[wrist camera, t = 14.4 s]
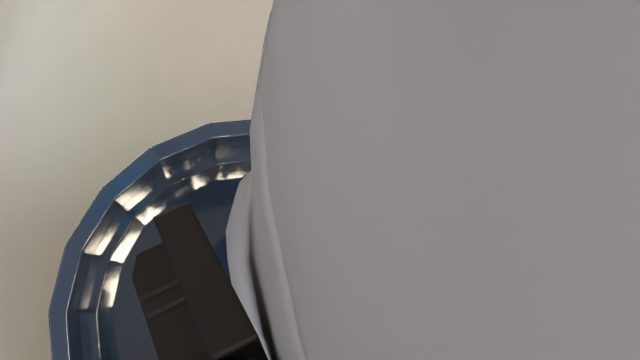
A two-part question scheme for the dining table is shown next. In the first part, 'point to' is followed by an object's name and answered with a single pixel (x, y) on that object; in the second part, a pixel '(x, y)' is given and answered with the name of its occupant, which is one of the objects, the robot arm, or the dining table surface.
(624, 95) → the white long tapered piece
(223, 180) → the bowl
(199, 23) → the dining table surface
